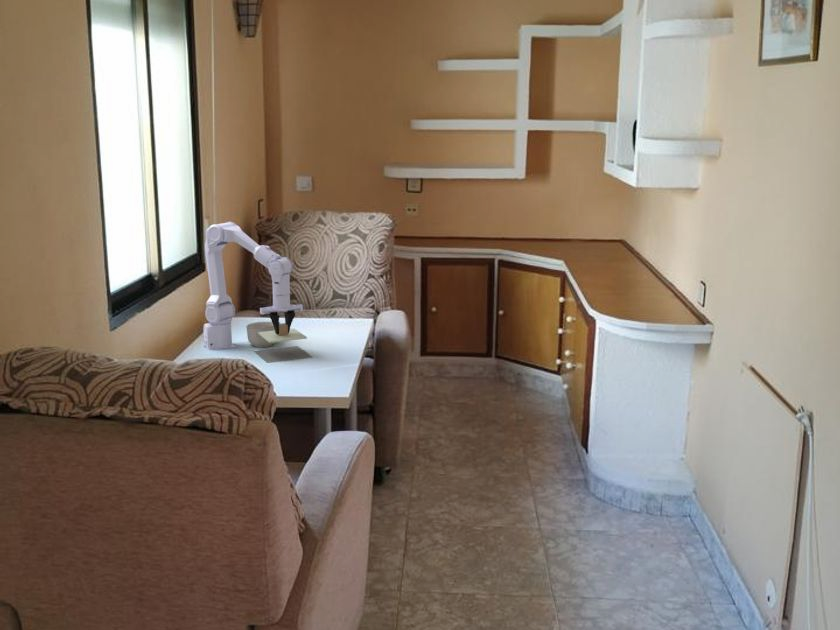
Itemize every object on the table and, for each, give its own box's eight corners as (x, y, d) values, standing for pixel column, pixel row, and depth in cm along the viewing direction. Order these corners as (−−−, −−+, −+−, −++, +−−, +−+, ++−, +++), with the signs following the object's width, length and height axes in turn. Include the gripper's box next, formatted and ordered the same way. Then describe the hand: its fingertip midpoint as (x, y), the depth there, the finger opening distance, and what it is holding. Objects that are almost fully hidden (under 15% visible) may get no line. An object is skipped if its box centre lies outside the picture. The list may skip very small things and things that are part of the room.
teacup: (256, 351, 294) (255, 328, 292) (241, 344, 302) (240, 323, 300) (290, 344, 303) (290, 323, 301) (275, 338, 311) (275, 317, 309)
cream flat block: (269, 342, 279) (269, 330, 278) (258, 333, 290) (257, 322, 289) (306, 338, 285) (306, 326, 284) (294, 330, 296) (294, 318, 295)
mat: (267, 363, 278) (267, 362, 278) (253, 352, 292) (253, 351, 292) (313, 358, 285) (313, 357, 285) (297, 347, 299) (297, 346, 299)
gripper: (263, 298, 277) (265, 337, 280) (305, 294, 284) (306, 333, 287) (257, 294, 283) (258, 333, 286) (298, 290, 290) (299, 328, 293)
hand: (282, 333), depth 287 cm, fingers closed on cream flat block, 3 cm apart
